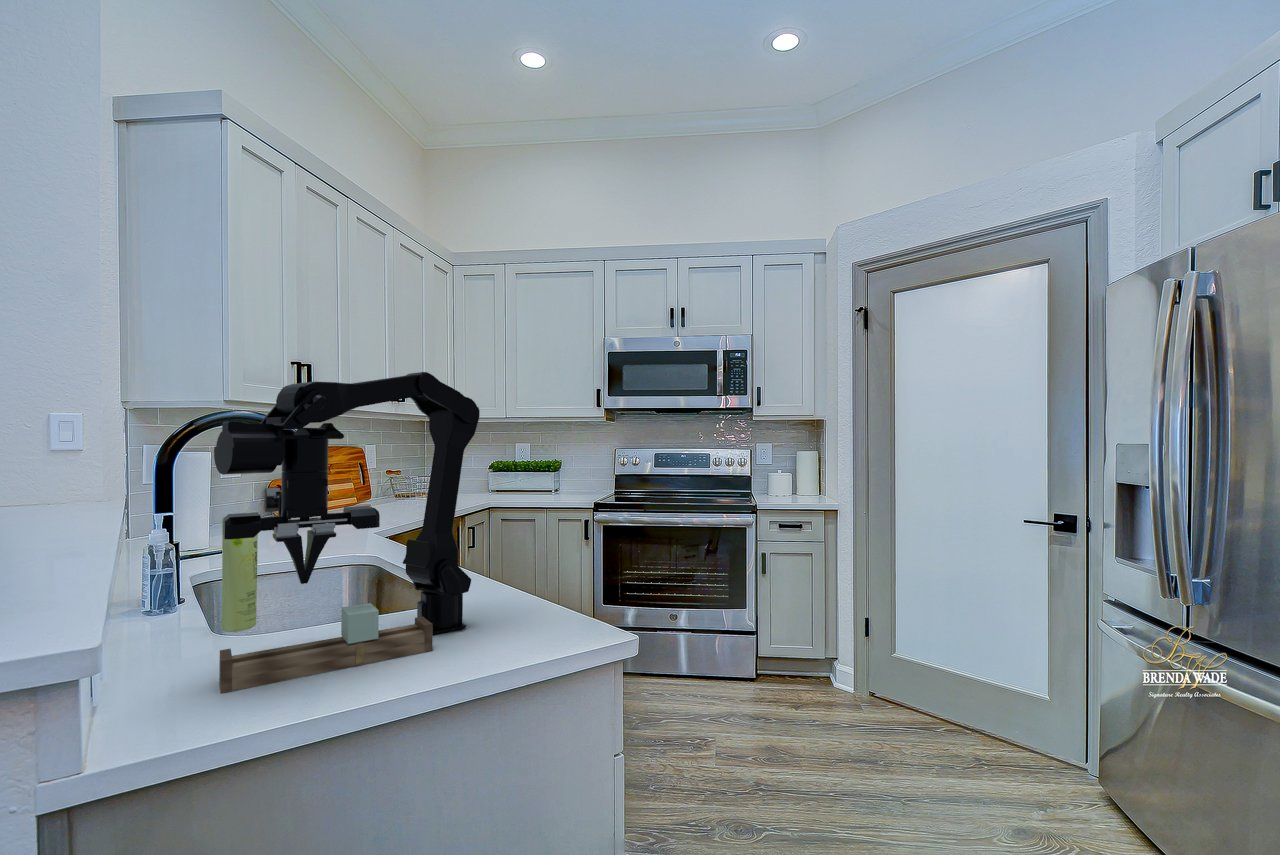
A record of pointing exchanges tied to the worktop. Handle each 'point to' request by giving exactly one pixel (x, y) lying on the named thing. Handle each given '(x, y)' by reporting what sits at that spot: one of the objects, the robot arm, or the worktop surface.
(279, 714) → the worktop surface
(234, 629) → the tube
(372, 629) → the block
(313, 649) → the rail
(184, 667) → the worktop surface
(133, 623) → the worktop surface
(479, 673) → the worktop surface
